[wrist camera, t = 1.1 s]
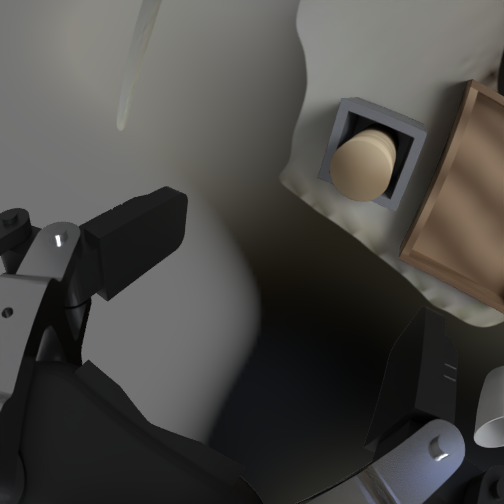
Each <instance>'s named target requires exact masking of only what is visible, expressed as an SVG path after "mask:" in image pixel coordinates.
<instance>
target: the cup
mask: <svg viewBox="0 0 504 504" xmlns="http://www.w3.org/2000/svg"><path fill="white" fill-rule="evenodd" d="M474 440H475V442H476V443H477V444H478V445H480V446H483V447H490V448H491V447H500V446H504V366H502V367H498V368H495V369H493V370H492V371H491V372H489V373H488V375H487V376H486V378H485V382H484V385H483V388H482V391H481V395H480V400H479V405H478V411H477V418H476V427H475V434H474Z"/></svg>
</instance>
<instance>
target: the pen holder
mask: <svg viewBox="0 0 504 504" xmlns="http://www.w3.org/2000/svg"><path fill="white" fill-rule="evenodd" d="M374 123H381V124H384V125H386V126H389V127H391V128H392V129H393V130H394V131H395V133H396V135H397V137H398V140H399V147H398V151H397V155H396V159H395V163H394V167H393V171H392V174H391V178H390V181H389V184H388V187H387V188H386V190H385V191H384V192H383V194H381V195H380V196H379V197H377V198H376V199H373V200H370V201H373V202H375V203H377V204H379V205H381V206H384V207H386V208H388V209H390V210H392V211H394V212H396V210H397V207H398V205H399V203H400V201H401V198H402V196H403V194H404V191H405V189H406V187H407V184H408V182H409V179H410V177H411V175H412V172H413V170H414V167H415V165H416V162H417V159H418V157H419V154H420V152H421V149H422V146H423V144H424V141H425V138H426V136H427V131H426V129H425V127H424V124H422V123H420V122H418V121H415V120H413V119H411V118H409V117H406V116H404V115H402V114H399V113H397V112H394V111H392V110H390V109H387V108H385V107H382V106H380V105H377V104H374V103H372V102H369V101H366V100H364V99H361V98H358V97H354V98H341V102H340V105H339V109H338V112H337V116H336V119H335V123H334V126H333V129H332V133H331V136H330V139H329V143H328V146H327V149H326V153H325V156H324V159H323V162H322V166H321V169H320V172H319V175H318V178H319V179H322V180H324V181H327V182H329V183H332V184H334V183H333V181H332V178H331V175H330V163H331V159H332V157H333V155H334V153H335V152H336V151H337V149H338V148H340V147H341V146H342V145H343V144H345V143H346V142H347V141H349V140H350V139H351V138H353V137H354V136H355V135H357V134H358V133H360V132H361V131H362V130H364V129H365V128H366V127H368V126H369V125H371V124H374Z"/></svg>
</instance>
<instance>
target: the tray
mask: <svg viewBox="0 0 504 504" xmlns="http://www.w3.org/2000/svg"><path fill="white" fill-rule="evenodd" d="M399 259H400V260H402V261H404V262H406V263H408V264H410V265H412V266H414V267H416V268H418V269H420V270H422V271H424V272H426V273H428V274H430V275H432V276H434V277H436V278H438V279H440V280H442V281H444V282H446V283H448V284H450V285H451V286H453V287H455V288H457V289H459V290H461V291H463V292H465V293H467V294H468V295H470V296H472V297H474V298H476V299H478V300H480V301H481V302H483V303H485V304H487V305H489V306H490V307H492V308H494V309H496V310H498V311H499V312H501V313H503V314H504V97H503V96H502V95H500V94H498V93H497V92H495V91H493V90H491V89H490V88H488V87H486V86H484V85H482V84H481V83H479V82H477V81H475V80H473V79H472V80H468V81H467V84H466V87H465V91H464V94H463V97H462V100H461V103H460V106H459V109H458V112H457V115H456V118H455V121H454V124H453V127H452V129H451V132H450V135H449V138H448V140H447V143H446V146H445V148H444V151H443V153H442V156H441V158H440V161H439V163H438V166H437V168H436V171H435V173H434V175H433V178H432V180H431V182H430V185H429V187H428V189H427V192H426V194H425V196H424V198H423V201H422V203H421V205H420V207H419V209H418V211H417V214H416V216H415V218H414V220H413V222H412V224H411V226H410V228H409V230H408V232H407V234H406V236H405V238H404V240H403V242H402V244H401V246H400V253H399Z"/></svg>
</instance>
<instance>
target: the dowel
mask: <svg viewBox="0 0 504 504" xmlns="http://www.w3.org/2000/svg"><path fill="white" fill-rule="evenodd" d="M398 147H399V140H398V137H397V135H396V133H395V131H394V130H393V129H392V128H391V127H389V126H386V125H384V124H381V123H374V124H371V125H369V126H368V127H366V128H365V129H364V130H362V131H361V132H360V133H358V134H357V135H355V136H354V137H353V138H351V139H350V140H349V141H347V142H346V143H345V144H343V145H342V146H341V147H340V148H338V149H337V151H336V152H335V153H334V155H333V157H332V159H331V163H330V175H331V178H332V181H333V183H334V185H335V187H336V188H337V189H338V190H339V191H340V192H341V193H342V194H343V195H344V196H346V197H348V198H349V199H352V200H355V201H370V200H373V199H376V198H377V197H379V196H380V195H381V194H383V192H384V191H385V190H386V188H387V187H388V184H389V181H390V178H391V174H392V171H393V167H394V163H395V159H396V155H397V151H398Z"/></svg>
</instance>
